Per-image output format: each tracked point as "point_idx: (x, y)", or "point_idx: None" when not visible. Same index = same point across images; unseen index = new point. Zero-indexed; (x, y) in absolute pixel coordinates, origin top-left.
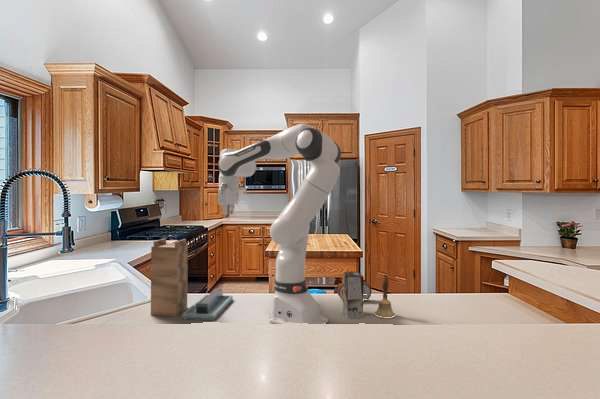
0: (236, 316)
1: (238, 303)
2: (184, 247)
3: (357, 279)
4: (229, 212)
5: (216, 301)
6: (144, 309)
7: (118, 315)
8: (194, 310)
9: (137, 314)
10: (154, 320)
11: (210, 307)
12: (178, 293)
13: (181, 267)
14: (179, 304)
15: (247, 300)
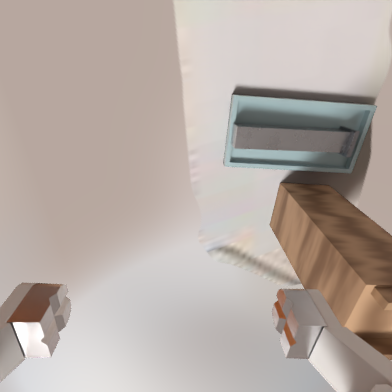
0: (354, 55)
1: (258, 71)
2: (387, 278)
3: None
4: (66, 320)
5: (281, 126)
6: None
7: None
8: (314, 160)
9: None
10: None
11: (322, 128)
12: (342, 204)
13: (365, 237)
14: (324, 192)
15: (233, 48)
